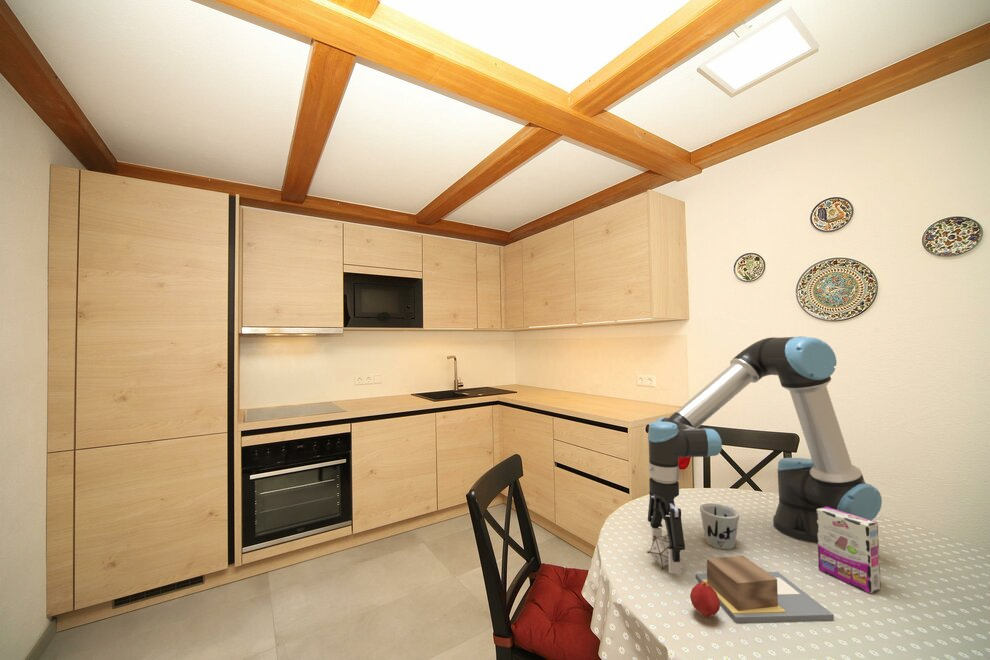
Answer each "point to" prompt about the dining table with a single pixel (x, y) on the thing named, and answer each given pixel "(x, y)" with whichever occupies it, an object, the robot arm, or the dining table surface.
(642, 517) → the dining table surface
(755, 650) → the dining table surface
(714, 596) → the red oval piece
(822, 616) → the board
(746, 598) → the walnut slab
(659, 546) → the game die
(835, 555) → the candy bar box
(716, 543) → the mug
